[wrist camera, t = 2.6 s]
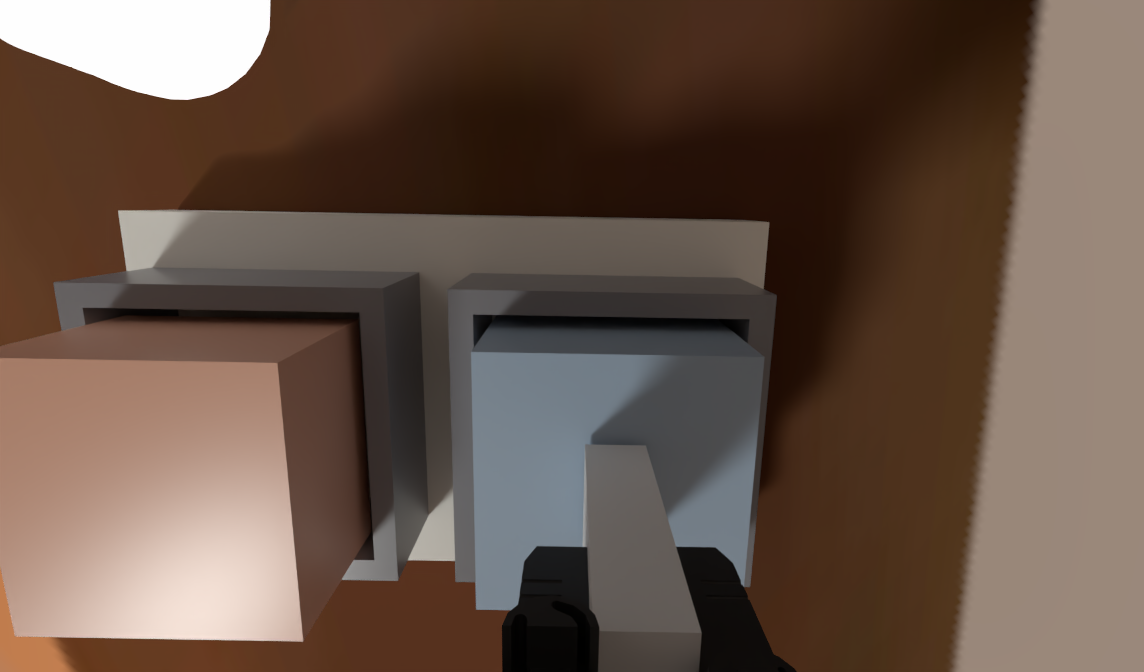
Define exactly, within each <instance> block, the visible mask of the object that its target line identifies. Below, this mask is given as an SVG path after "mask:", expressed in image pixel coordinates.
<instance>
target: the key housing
mask: <svg viewBox="0 0 1144 672" xmlns="http://www.w3.org/2000/svg"><path fill="white" fill-rule="evenodd" d="M118 213H119V220H120V227H121V234H122V241H123V248H124V255H125V262H126V269H127V271H126V272H119V273H113V274H106V275H99V276H93V277H86V278H79V279H73V280H66V281H59V282H53V283H54V289H55V295H56V301H57V307H58V313H59V318H60V324H61V330H62V331H64V330H68V329H72V328H76V327H80V326H84V325H88V324H92V323H96V322H100V321H104V320H108V319H112V318H116V317H120V316H124V315H133V316H190V317H247V318H304V319H359V335H360V351H361V368H362V384H363V400H364V417H365V433H366V449H367V465H368V482H369V498H370V514H371V533H370V534H369V536H368V538H367V539H366V541H365V542H364V544H363V546H362V547H361V549H360V550H359V552H358V554H357V555H356V557H355V559H354V560H353V562H352V563H351V565H350V567H349V568H348V570H347V571H346V573H345V575H344V576H343V578H342V580H385V581H398V580H399V578H400V575H401V573H402V571H403V569H404V567H405V565H406V563H407V561H408V560H435V561H455V577H456V582H476V575H475V525H474V475H473V425H472V376H471V351H472V350H473V348H474V347H475V346H476V344H477V343H478V341H479V340H480V338H481V337H482V336H483V334H484V333H485V331H486V330H487V328H488V327H489V326H490V324H491V323H492V321H493V320H494V318H495V317H496V315H532V316H589V317H646V318H703V319H718V320H719V321H720V322H722V323H723V324H724V325H725V326H727V327H728V328H729V329H730V330H731V331H733V332H734V333H735V334H736V335H738V336H739V337H740V338H741V339H743V340H744V341H745V342H746V343H748V344H749V345H750V346H751V347H753V348H754V349H755V350H756V351H758V352H759V353H760V354H761V355H763V356H764V357H765V358H764V369H763V380H762V392H761V403H760V414H759V425H758V436H757V447H756V458H755V469H754V481H753V492H752V503H751V514H750V525H749V536H748V547H747V559H746V570H745V581H744V587H750V582H751V571H752V560H753V549H754V538H755V527H756V517H757V506H758V495H759V484H760V473H761V462H762V452H763V441H764V430H765V419H766V408H767V397H768V387H769V376H770V365H771V354H772V343H773V332H774V322H775V311H776V300H777V295H776V294H773V293H771V292H769V291H767V290H764V279H765V267H766V256H767V244H768V233H769V222H762V221H751V220H724V219H667V218H610V217H553V216H496V215H439V214H382V213H325V212H268V211H211V210H134V211H118Z"/></svg>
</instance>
